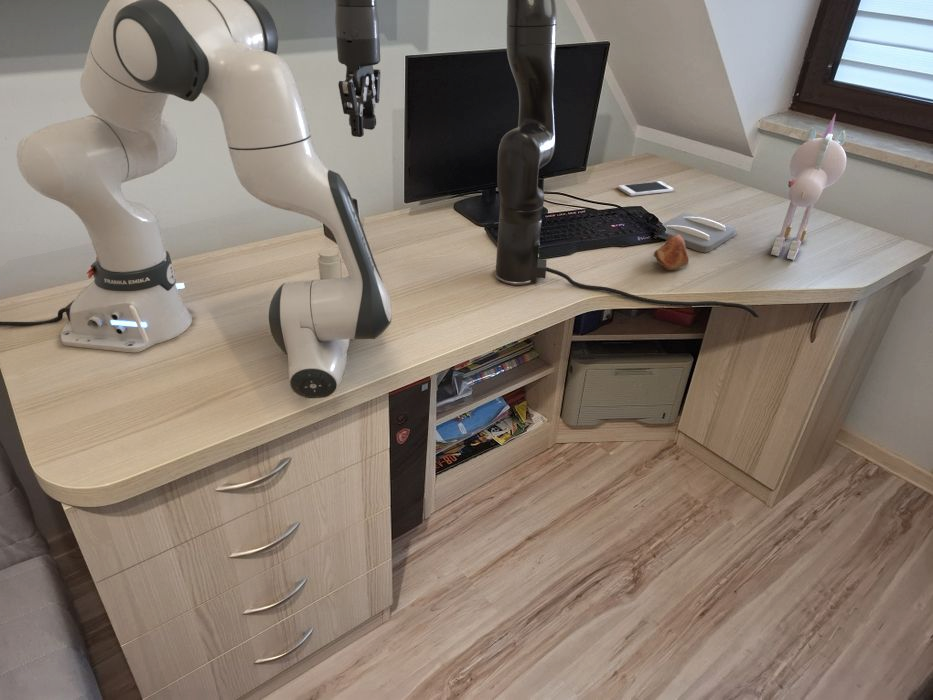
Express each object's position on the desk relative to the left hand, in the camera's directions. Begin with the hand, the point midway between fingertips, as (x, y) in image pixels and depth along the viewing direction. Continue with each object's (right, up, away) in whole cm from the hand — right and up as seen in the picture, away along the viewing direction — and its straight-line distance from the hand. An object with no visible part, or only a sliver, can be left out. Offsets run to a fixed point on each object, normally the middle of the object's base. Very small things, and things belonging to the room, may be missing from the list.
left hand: (333, 292), depth 122 cm
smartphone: (+81, +38, +74) cm, 116 cm away
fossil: (+74, +9, +30) cm, 80 cm away
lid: (+6, +33, -2) cm, 33 cm away
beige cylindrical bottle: (0, -6, +3) cm, 6 cm away
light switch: (+86, +19, +46) cm, 99 cm away
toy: (+111, +18, +45) cm, 121 cm away
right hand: (+6, +31, -1) cm, 31 cm away
